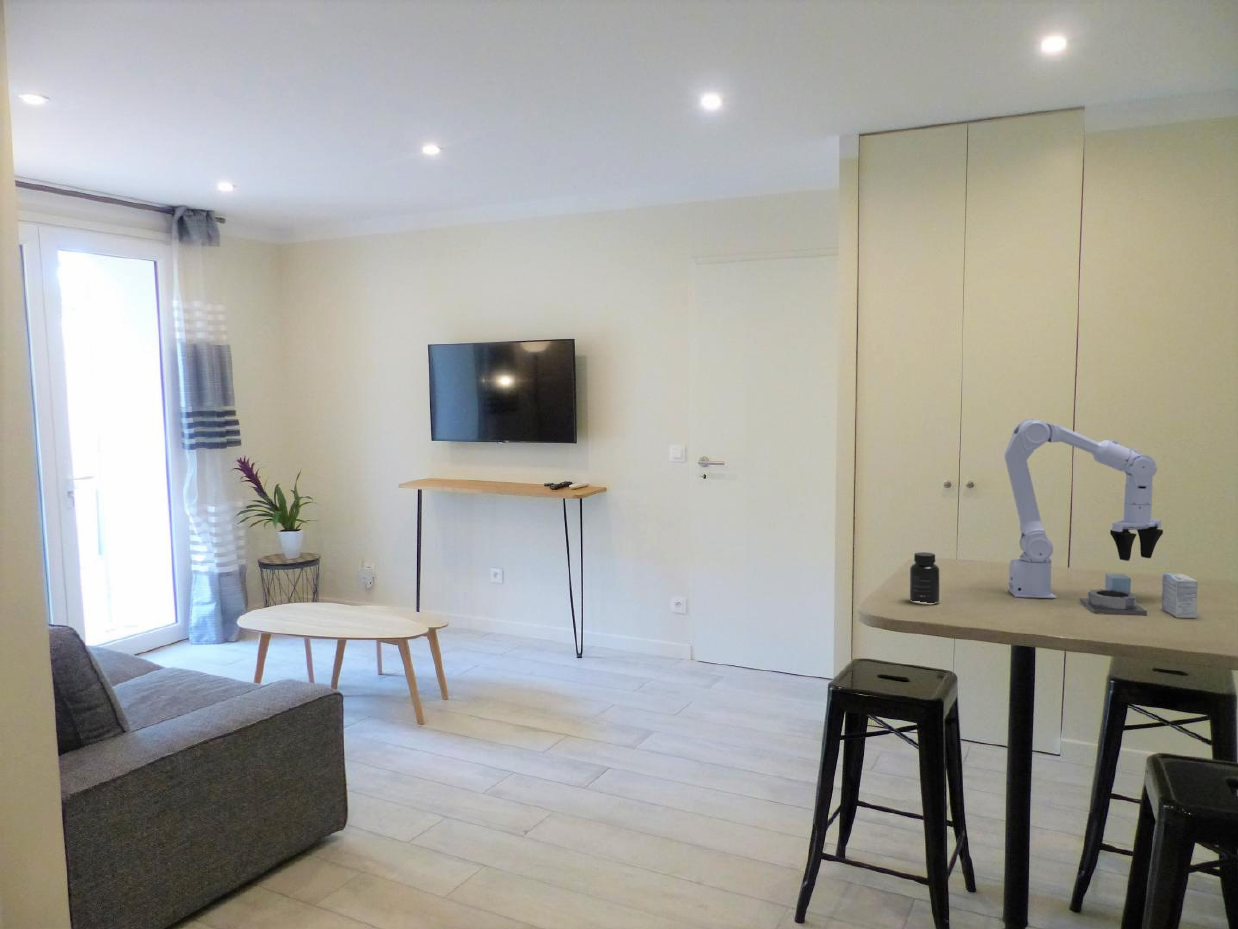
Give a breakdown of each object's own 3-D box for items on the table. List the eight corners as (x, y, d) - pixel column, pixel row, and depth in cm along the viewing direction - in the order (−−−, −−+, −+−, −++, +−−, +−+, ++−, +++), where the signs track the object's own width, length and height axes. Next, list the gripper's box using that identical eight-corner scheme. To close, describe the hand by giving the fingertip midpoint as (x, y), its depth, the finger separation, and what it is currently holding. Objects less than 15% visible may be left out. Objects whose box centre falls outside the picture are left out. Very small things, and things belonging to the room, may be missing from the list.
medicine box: (1197, 619, 195) (1199, 580, 194) (1175, 618, 196) (1176, 580, 195) (1182, 610, 202) (1183, 573, 202) (1160, 609, 203) (1162, 573, 203)
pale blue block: (1109, 602, 211) (1110, 578, 210) (1102, 597, 216) (1103, 573, 215) (1132, 603, 210) (1133, 578, 209) (1124, 598, 215) (1125, 574, 214)
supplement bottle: (913, 597, 218) (913, 550, 217) (941, 600, 215) (942, 552, 214) (906, 603, 212) (907, 555, 211) (936, 606, 209) (936, 557, 208)
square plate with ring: (1094, 613, 200) (1094, 598, 200) (1079, 602, 211) (1079, 587, 211) (1146, 615, 198) (1147, 600, 198) (1129, 603, 209) (1129, 589, 209)
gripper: (1132, 507, 205) (1129, 564, 206) (1174, 503, 210) (1171, 559, 211) (1105, 503, 211) (1103, 559, 212) (1146, 500, 217) (1143, 554, 218)
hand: (1135, 558), depth 212 cm, fingers open, 7 cm apart
